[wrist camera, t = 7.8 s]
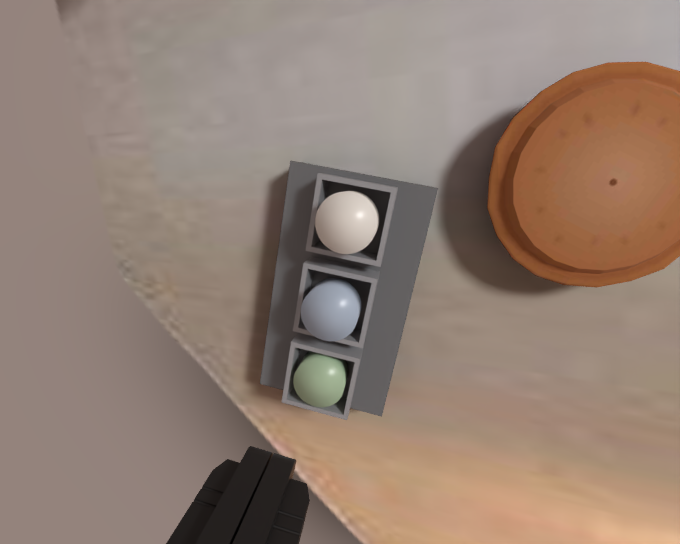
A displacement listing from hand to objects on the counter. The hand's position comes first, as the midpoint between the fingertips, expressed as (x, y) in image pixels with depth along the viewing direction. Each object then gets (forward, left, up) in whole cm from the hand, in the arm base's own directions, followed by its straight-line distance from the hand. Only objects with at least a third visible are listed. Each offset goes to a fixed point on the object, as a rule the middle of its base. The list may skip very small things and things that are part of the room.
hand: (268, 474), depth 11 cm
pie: (+16, +12, -24) cm, 31 cm away
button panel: (-1, -1, -24) cm, 24 cm away
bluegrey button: (-1, -1, -19) cm, 19 cm away
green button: (-1, -8, -20) cm, 22 cm away
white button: (-1, +6, -19) cm, 20 cm away
